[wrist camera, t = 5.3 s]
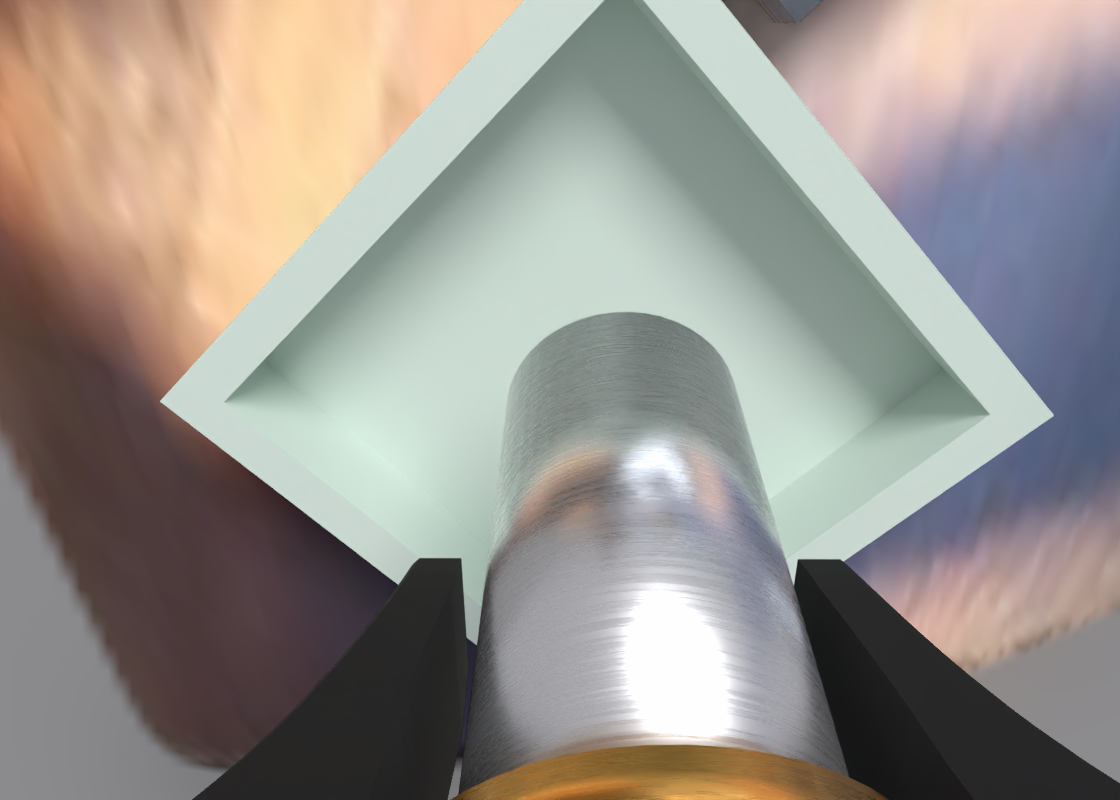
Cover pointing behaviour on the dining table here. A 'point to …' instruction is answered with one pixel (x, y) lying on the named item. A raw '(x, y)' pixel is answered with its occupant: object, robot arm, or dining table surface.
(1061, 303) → the dining table surface
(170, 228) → the dining table surface
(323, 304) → the tray
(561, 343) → the pin
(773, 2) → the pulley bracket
